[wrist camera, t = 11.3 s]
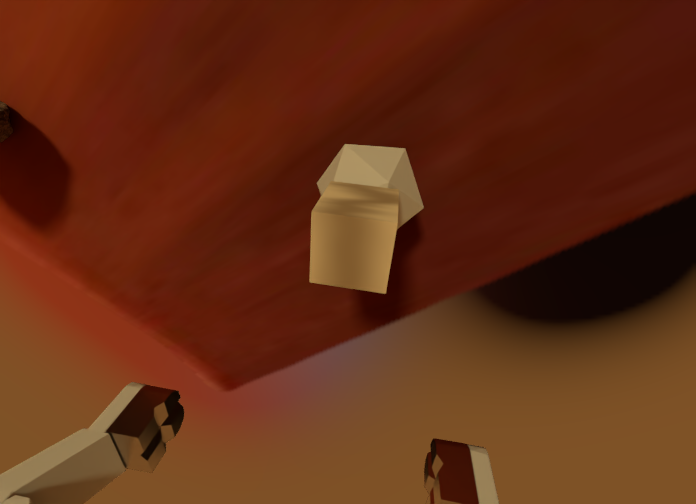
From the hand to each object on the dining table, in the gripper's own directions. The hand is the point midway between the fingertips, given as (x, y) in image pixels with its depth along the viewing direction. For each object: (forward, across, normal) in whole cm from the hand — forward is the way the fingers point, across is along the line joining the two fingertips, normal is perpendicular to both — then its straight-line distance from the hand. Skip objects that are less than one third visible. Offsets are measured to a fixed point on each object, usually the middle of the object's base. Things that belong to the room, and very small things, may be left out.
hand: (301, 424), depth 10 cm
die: (+25, 0, 0) cm, 25 cm away
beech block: (+17, 0, 0) cm, 17 cm away
